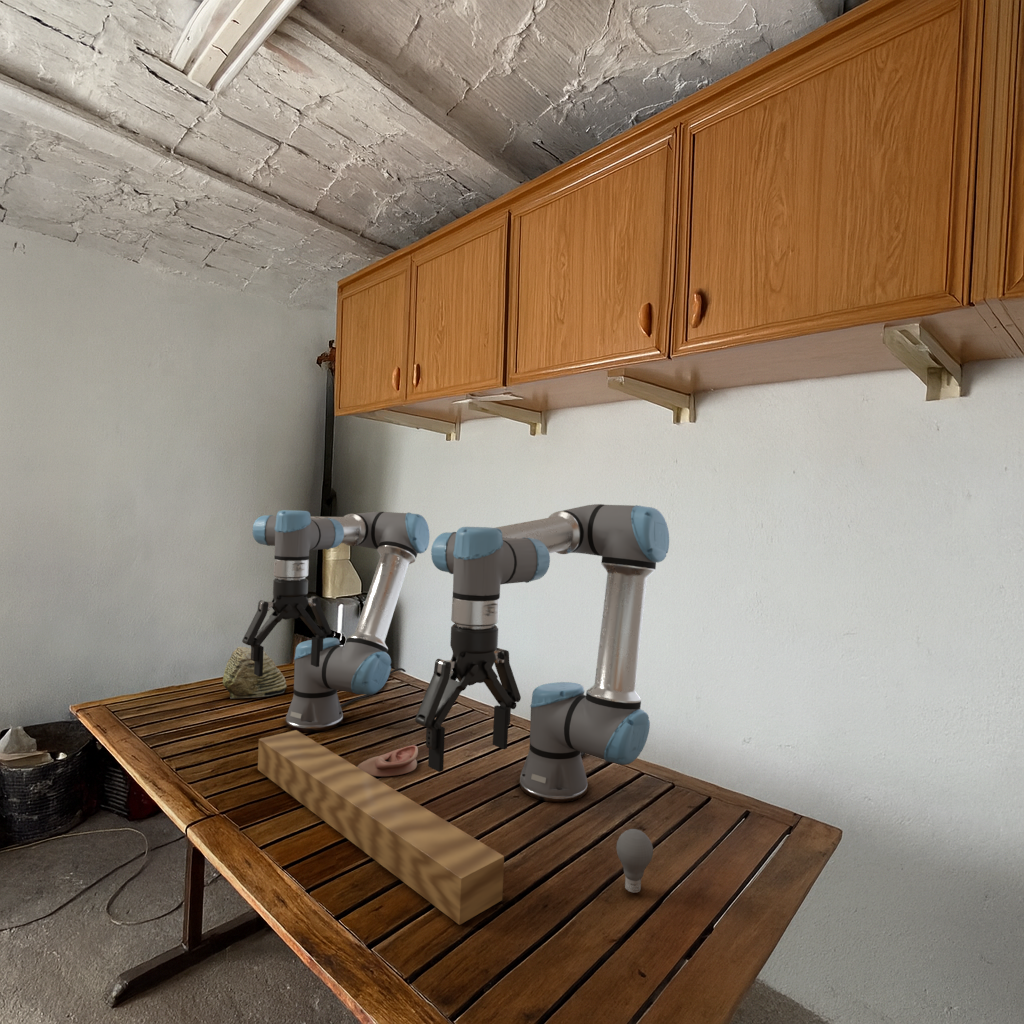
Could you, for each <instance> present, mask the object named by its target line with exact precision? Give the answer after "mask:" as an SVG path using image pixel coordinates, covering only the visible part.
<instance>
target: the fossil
mask: <svg viewBox="0 0 1024 1024" xmlns="http://www.w3.org/2000/svg"><path fill="white" fill-rule="evenodd" d="M222 676H223V677H222V685H223V687H224V688H225V690H226V691H228V693H229V698H230V699H250V698H264V697H271V696H275V695H281V694H284V693H285V691H286V689H287V687H288V686H287V680H286V678H285V676H284V674H283V673H282V672H281V669H279V668H278V667H277V665H276V663H275V662H274V660H273V659H272V658H271V657H270V656H269V655H268V654H267V653H266V652H265V650H264V651H263V676H261V677H259V676H257V675H255V674H254V661H252V660H251V647H247V646H246V647H245V646H238V647H237V648H236V649H235V650H233V651H232V653H231V656H230V657H229V659H228V660H227V663H226V666H225V668H224V671H223V675H222Z"/></svg>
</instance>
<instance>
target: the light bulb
mask: <svg viewBox="0 0 1024 1024" xmlns="http://www.w3.org/2000/svg"><path fill="white" fill-rule="evenodd" d="M615 849H616V854H617V857H618V859H619V861H620V863H621V865H622V867H623V873H624V874H623V875H624V876H625V878H624V888H625V890H627V891H628V892H630V893H634V894H635V893H639V892H640V891H641V889H642V887H641V886H642V879H643V877H644V875H645V871H646V868H647V867H648V866H649V864H650V863H651V861H652V859H653V855H654V847H653V843H652V841H651V838H649V836H648V835H647V834H646V833H645V832H643V831H642V830H641V829H636V828H629V829H627V830H625V831H623V832H622V833H621V834H620V835H619V837H618V839H617V841H616V847H615Z"/></svg>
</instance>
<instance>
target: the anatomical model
mask: <svg viewBox="0 0 1024 1024" xmlns="http://www.w3.org/2000/svg"><path fill="white" fill-rule="evenodd" d="M418 755H419V748H418V746H417V745H412V744H411V745H407V746H404V747H401V748H400V747H399V748H398V749H394V750H391V751H389V752H387V753H383V754H381V755H377V756H372V757H370V758H368V759H365V760H364V761H361V762H360V763H359V764H358V765H356V767H358V768H360V769H361V770H363V771H364V772H366V773H368V774H369V775H371V776H373V777H392V776H399V775H404V774H408V773H411V772H413V771H414V770H415V769H416V768H417V766H418V760H417V757H418Z"/></svg>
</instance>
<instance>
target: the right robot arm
mask: <svg viewBox="0 0 1024 1024" xmlns="http://www.w3.org/2000/svg"><path fill="white" fill-rule="evenodd" d="M669 549H670V532H669V528H668V523H667V521H666V519H665V516H664V515H663V514H662V512H661V511H660V510H658V509H657V508H655V507H652V506H644V505H637V504H636V505H630V504H629V505H627V504H604V503H603V504H602V503H595V504H593V503H592V504H587V505H582V506H577V507H572V508H568V509H563V510H559V511H555V512H553V513H550V515H549V516H548V517H545V518H540V519H534V520H529V521H523V522H517V523H513V524H508V525H507V524H506V525H501V526H496V527H487V526H462V527H460V528H458V529H457V531H451V532H450V531H449V532H448V531H447V532H443V533H440V534H439V535H438V536H437V537H436V538H435V539H434V541H433V542H432V545H431V550H430V551H431V553H430V555H431V561H432V564H433V565H434V567H435V568H436V569H438V570H439V571H440V572H441V571H442V572H445V573H449V574H450V575H452V579H453V580H452V599H451V614H450V616H451V617H450V618H451V619H450V620H451V622H452V623H453V624H452V625H451V626H450V645H449V646H450V648H451V651H452V656H451V659H447V660H445V659H442V658H437V659H435V661H434V668H433V674H432V676H431V678H430V682H429V684H428V686H427V689H426V692H425V693H424V697H423V698H422V701H421V704H420V706H419V708H418V711H417V713H416V715H415V719H414V721H415V723H416V724H418V725H420V726H422V727H425V728H426V732H425V734H426V735H425V746H426V748H427V749H428V757H427V758H428V760H427V767H428V768H430V769H432V770H434V771H436V772H437V773H441V772H443V771H444V764H445V763H444V759H445V738H446V728H445V727H444V726H442V724H443V723H444V722H445V720H446V718H447V716H448V715H449V713H450V711H451V710H452V708H453V706H454V705H455V703H456V701H457V700H458V698H459V696H460V694H461V693H462V692H463V691H465V690H466V689H467V687H468V686H473V685H475V684H482V683H483V684H484V685H485V686H486V687H487V689H488V691H489V692H490V694H492V696H493V698H494V699H495V701H496V702H497V704H496V705H494V706H493V727H492V728H493V729H492V745H493V746H495V747H497V748H499V749H502V750H506V749H508V740H509V739H508V737H509V727H510V725H511V717H512V716H511V715H512V711H511V710H515V709H516V708H517V703H519V702H521V699H522V697H521V693H520V690H519V687H518V684H517V682H516V679H515V676H514V672H513V669H512V666H511V664H510V652H509V650H507V649H503V648H499V647H498V646H499V627H498V626H497V625H498V624H497V623H499V619H500V617H499V616H500V598H501V585H508V584H519V583H526V584H527V583H530V582H533V581H537V580H540V579H542V578H544V576H545V575H546V574H547V573H548V570H549V569H550V563H551V556H550V555H551V554H554V553H557V554H559V555H567V554H581V555H582V554H583V555H590V556H591V555H592V556H598V557H601V566H602V567H603V569H604V570H605V571H606V581H605V587H604V588H605V590H604V597H603V606H602V616H601V623H600V634H599V641H598V649H597V650H598V651H597V659H596V667H595V668H596V669H595V674H594V675H595V677H594V683H593V684H592V685H591V686H590V687H589V688H586V693H585V689H584V686H583V685H581V683H578V682H569V681H568V682H567V681H559V682H550V683H549V682H548V683H544V684H541V685H538V686H536V687H535V688H534V689H533V691H532V694H531V702H530V706H529V707H530V722H529V723H530V725H529V747H528V748H529V749H528V753H527V756H526V759H525V761H524V764H523V766H522V768H521V771H520V775H519V776H520V777H519V787H520V790H522V791H523V792H524V794H526V795H528V796H530V797H532V798H533V799H537V800H539V801H544V802H550V803H551V802H552V803H567V802H572V801H576V800H578V799H581V798H583V797H584V796H585V795H586V794H587V792H588V777H587V774H586V770H585V766H584V762H583V758H582V757H584V756H585V754H586V755H589V756H591V757H595V758H598V759H601V760H603V761H604V762H607V763H613V764H617V765H621V766H625V765H626V766H627V765H629V764H631V763H633V762H634V761H636V760H637V758H638V757H639V756H640V755H641V753H642V752H643V750H644V748H645V745H646V744H647V740H648V738H649V734H650V726H651V724H650V723H651V722H650V717H649V714H648V713H647V712H646V711H645V710H643V709H641V705H642V698H641V697H640V695H639V694H638V693H637V691H636V685H637V675H638V665H639V657H640V647H641V638H642V629H643V620H644V612H645V602H646V601H645V600H646V592H647V584H648V578H649V577H650V576H651V575H652V574H653V573H655V572H656V567H657V563H660V562H663V561H664V560H665V559H666V557H667V554H668V552H669ZM496 624H497V625H496ZM493 666H494V667H495V669H496V670H494V669H493ZM495 671H496V672H495Z"/></svg>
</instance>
